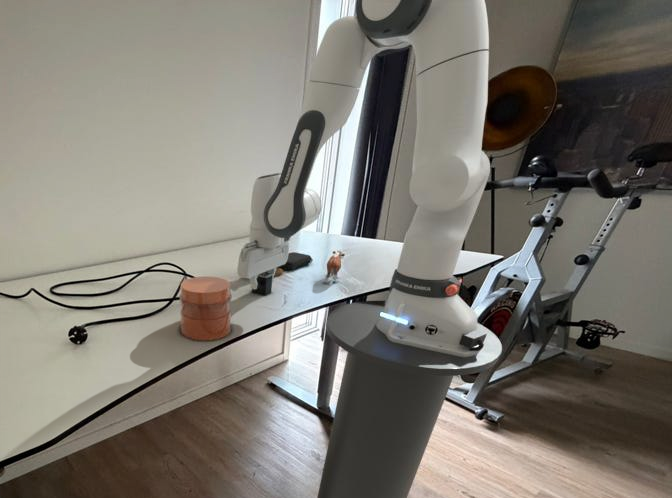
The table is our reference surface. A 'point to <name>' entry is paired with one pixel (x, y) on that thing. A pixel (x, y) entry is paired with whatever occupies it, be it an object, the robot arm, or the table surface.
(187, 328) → the orange short cylinder
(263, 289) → the black block
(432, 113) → the robot arm
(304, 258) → the carrying case
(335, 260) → the bull figurine
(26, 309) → the table surface
